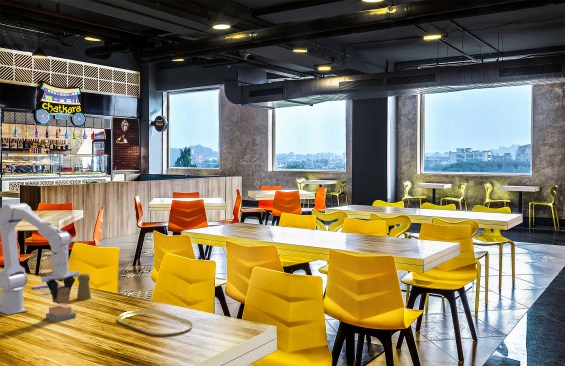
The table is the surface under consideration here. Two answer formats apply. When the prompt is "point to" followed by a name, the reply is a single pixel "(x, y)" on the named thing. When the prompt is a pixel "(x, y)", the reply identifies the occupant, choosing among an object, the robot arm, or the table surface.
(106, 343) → the table surface
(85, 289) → the taupe pawn
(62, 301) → the walnut block
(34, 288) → the booklet
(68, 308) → the terracotta cap
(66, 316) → the gray slab
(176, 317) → the serving platter
